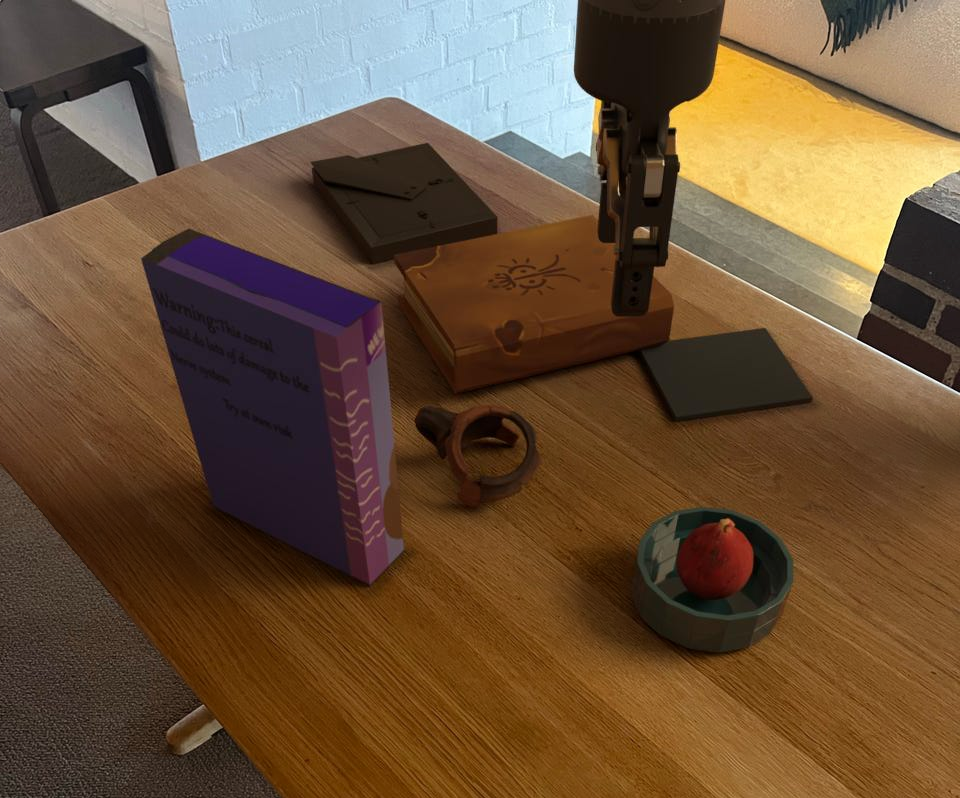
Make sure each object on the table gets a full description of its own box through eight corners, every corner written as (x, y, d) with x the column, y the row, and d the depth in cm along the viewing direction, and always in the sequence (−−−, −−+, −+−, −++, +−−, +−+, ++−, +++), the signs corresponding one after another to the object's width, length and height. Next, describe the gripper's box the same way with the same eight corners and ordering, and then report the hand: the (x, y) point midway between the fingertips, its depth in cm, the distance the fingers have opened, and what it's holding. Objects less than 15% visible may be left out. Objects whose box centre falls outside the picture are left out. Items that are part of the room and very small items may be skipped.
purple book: (404, 551, 84) (381, 299, 66) (370, 586, 82) (336, 334, 63) (249, 476, 90) (188, 225, 72) (213, 507, 88) (140, 255, 69)
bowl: (747, 536, 85) (758, 497, 82) (804, 642, 78) (819, 604, 74) (613, 557, 84) (618, 519, 80) (658, 668, 76) (666, 631, 73)
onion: (725, 631, 78) (746, 561, 72) (658, 602, 80) (673, 531, 74) (753, 584, 81) (775, 513, 75) (688, 558, 83) (704, 486, 77)
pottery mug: (547, 448, 93) (561, 415, 85) (510, 537, 92) (521, 513, 84) (429, 398, 93) (432, 361, 85) (390, 487, 92) (389, 458, 83)
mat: (764, 332, 104) (765, 327, 104) (811, 402, 97) (813, 397, 96) (636, 349, 102) (637, 344, 102) (674, 421, 95) (675, 416, 95)
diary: (458, 400, 96) (455, 348, 92) (397, 305, 108) (393, 255, 103) (668, 347, 101) (675, 296, 97) (589, 262, 113) (592, 212, 109)
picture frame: (313, 184, 125) (372, 264, 113) (310, 161, 123) (370, 241, 111) (428, 158, 129) (497, 233, 117) (427, 136, 127) (497, 210, 115)
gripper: (753, 37, 46) (697, 339, 58) (703, -65, 55) (664, 216, 67) (591, 40, 46) (570, 342, 58) (568, -62, 55) (554, 219, 67)
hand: (620, 274), depth 63 cm, fingers open, 8 cm apart
